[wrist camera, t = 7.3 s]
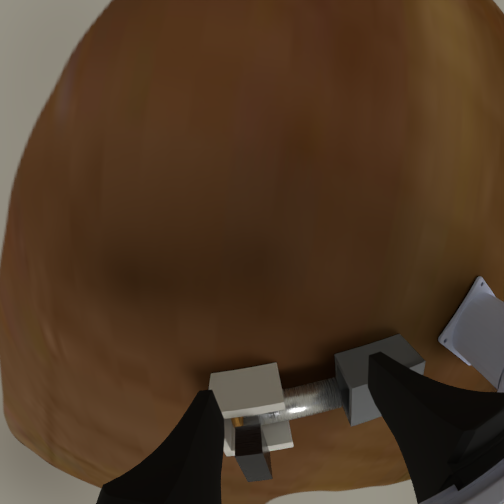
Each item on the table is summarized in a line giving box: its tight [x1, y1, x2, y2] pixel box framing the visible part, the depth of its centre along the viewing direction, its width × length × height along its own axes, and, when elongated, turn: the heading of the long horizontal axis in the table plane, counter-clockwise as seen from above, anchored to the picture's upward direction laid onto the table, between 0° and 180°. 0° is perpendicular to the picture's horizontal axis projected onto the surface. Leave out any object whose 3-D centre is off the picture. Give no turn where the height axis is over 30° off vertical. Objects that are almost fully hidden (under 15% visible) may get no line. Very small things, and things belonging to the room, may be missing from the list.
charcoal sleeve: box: [334, 334, 425, 426], centre depth 20 cm, size 6×5×5 cm
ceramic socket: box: [209, 362, 294, 456], centre depth 20 cm, size 6×6×5 cm
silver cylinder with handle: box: [231, 377, 342, 482], centre depth 18 cm, size 9×4×8 cm, turn 102°
